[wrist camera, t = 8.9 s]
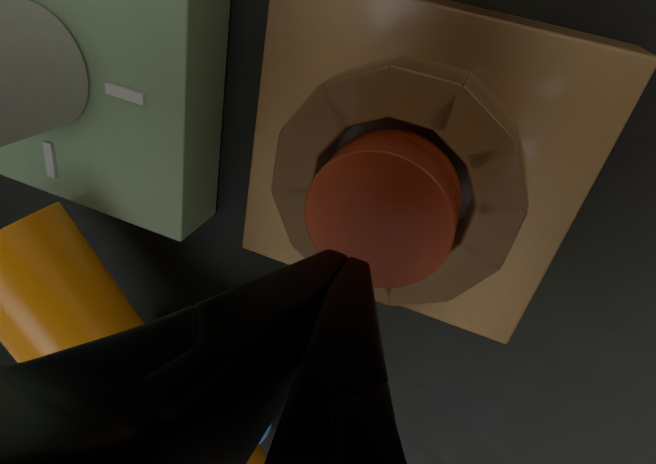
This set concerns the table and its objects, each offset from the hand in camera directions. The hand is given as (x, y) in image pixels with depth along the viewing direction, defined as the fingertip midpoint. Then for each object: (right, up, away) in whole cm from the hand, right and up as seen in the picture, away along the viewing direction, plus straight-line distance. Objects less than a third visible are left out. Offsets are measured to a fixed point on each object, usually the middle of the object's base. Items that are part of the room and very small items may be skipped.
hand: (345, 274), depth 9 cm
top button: (+1, +2, +3) cm, 4 cm away
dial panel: (-9, +7, +9) cm, 15 cm away
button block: (+3, +3, +6) cm, 8 cm away
